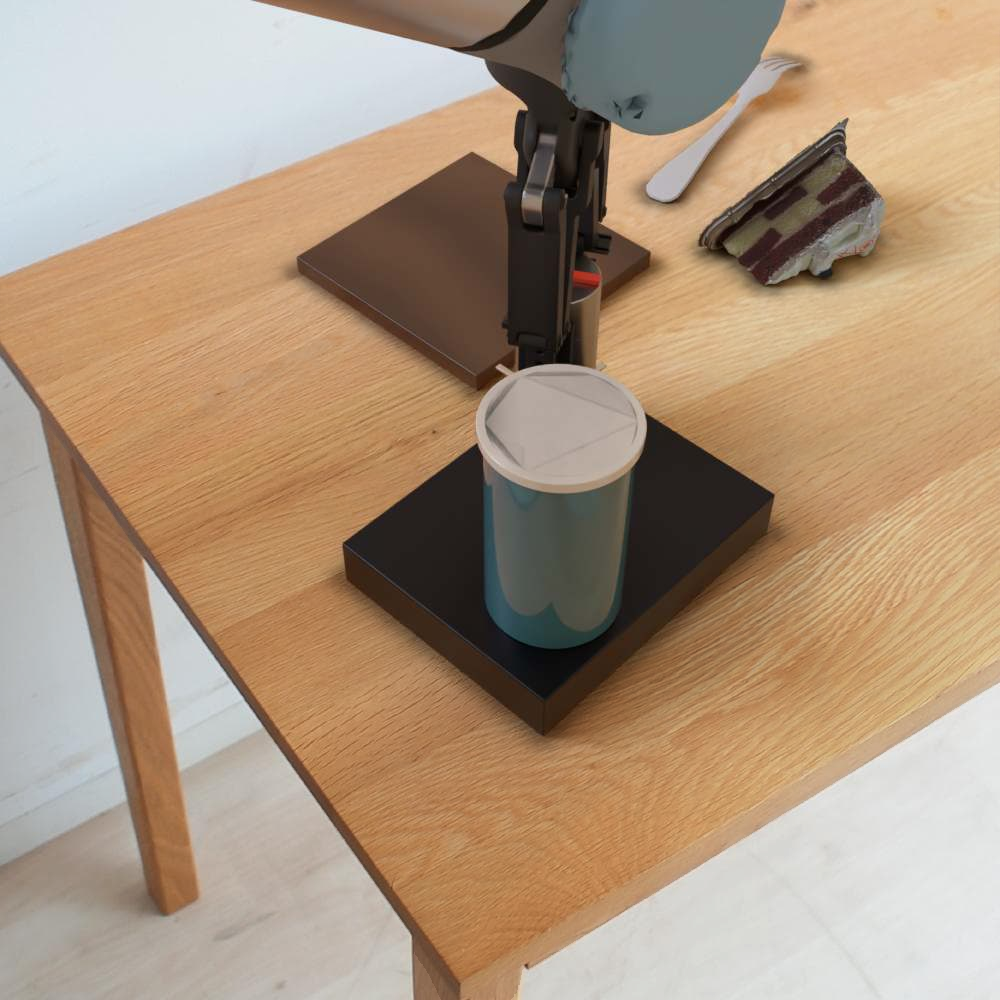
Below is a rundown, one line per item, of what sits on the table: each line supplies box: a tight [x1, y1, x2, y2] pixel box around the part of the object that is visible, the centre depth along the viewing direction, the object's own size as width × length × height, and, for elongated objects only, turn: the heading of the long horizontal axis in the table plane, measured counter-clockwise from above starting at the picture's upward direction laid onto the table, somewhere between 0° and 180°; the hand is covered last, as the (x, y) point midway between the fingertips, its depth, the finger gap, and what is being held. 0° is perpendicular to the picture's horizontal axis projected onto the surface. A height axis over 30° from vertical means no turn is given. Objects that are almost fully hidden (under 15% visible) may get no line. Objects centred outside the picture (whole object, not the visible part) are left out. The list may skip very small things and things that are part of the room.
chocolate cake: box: [697, 117, 887, 286], centre depth 93 cm, size 10×7×12 cm
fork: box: [645, 56, 803, 203], centre depth 103 cm, size 3×21×3 cm, turn 147°
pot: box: [474, 364, 647, 649], centre depth 67 cm, size 7×7×12 cm
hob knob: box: [514, 252, 602, 373], centre depth 77 cm, size 4×4×9 cm
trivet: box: [296, 151, 652, 391], centre depth 92 cm, size 16×16×1 cm
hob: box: [341, 361, 776, 737], centre depth 77 cm, size 19×17×3 cm
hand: (554, 381), depth 79 cm, fingers closed on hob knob, 4 cm apart
